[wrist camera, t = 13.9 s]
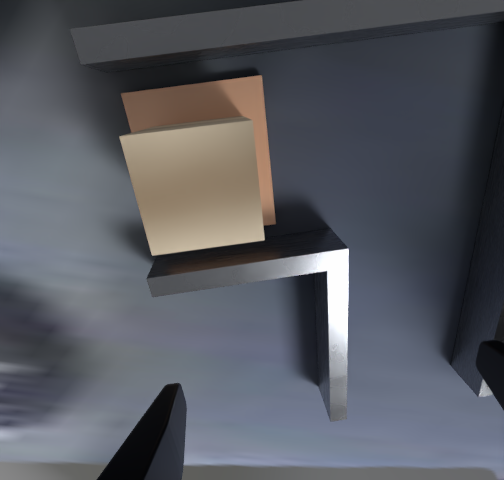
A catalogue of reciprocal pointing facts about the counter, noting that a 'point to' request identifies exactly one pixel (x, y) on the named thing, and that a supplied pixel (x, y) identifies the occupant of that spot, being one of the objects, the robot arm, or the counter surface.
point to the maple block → (196, 184)
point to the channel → (323, 241)
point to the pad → (209, 117)
